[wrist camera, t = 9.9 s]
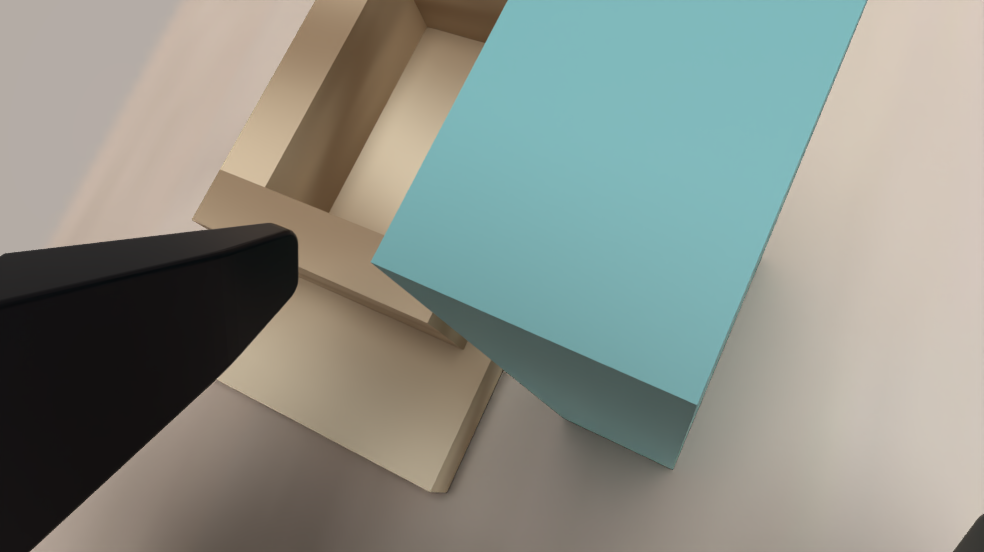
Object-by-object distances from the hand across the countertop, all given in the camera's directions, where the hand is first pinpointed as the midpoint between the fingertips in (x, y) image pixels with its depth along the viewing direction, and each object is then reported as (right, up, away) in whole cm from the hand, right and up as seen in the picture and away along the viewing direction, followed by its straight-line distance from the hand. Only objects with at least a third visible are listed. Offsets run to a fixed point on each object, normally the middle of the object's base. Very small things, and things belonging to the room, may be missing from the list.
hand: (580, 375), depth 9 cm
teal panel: (+3, 0, +7) cm, 7 cm away
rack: (-1, +6, +9) cm, 11 cm away
